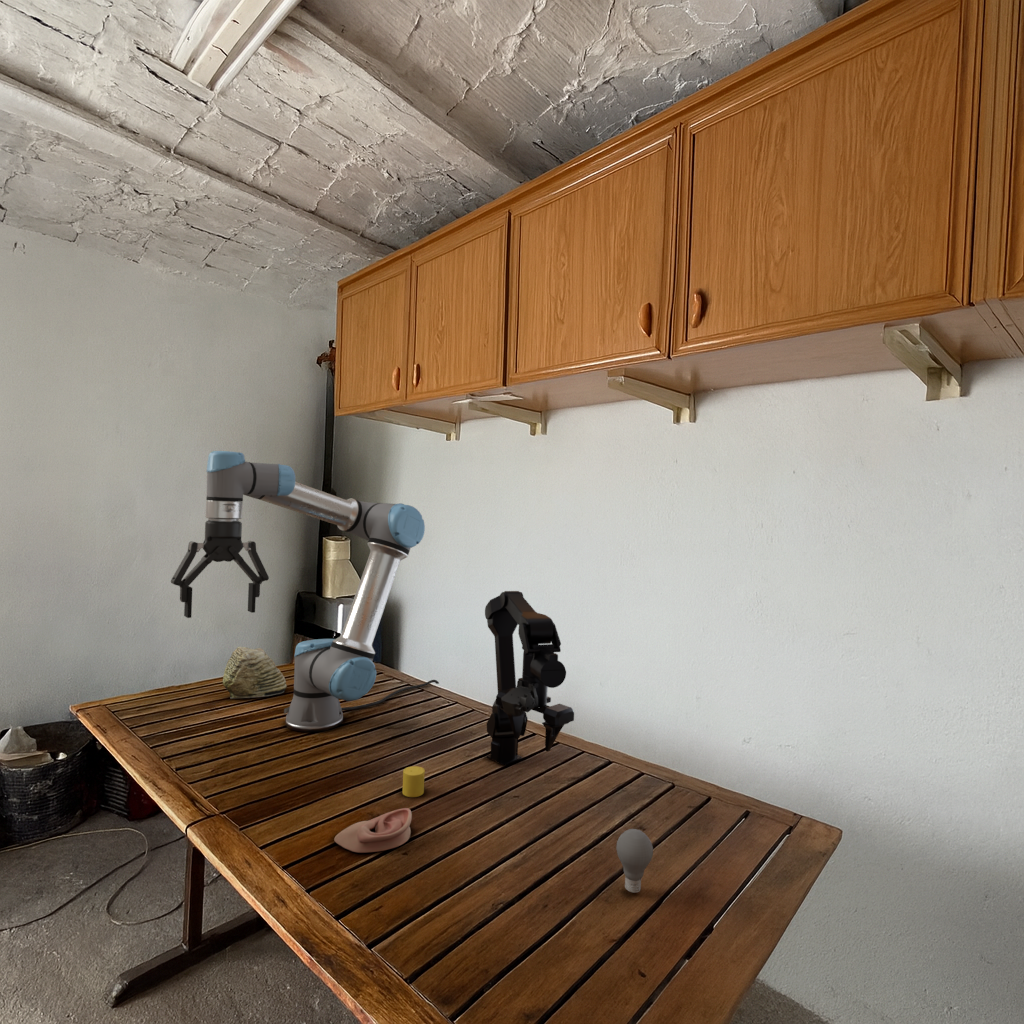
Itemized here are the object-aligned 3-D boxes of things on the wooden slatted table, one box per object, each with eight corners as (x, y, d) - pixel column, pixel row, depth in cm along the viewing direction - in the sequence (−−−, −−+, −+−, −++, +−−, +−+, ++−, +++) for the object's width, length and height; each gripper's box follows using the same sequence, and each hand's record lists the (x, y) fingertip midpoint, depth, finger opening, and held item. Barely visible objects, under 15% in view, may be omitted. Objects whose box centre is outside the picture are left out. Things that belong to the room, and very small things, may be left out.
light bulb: (610, 879, 108) (613, 822, 108) (644, 879, 109) (647, 822, 109) (619, 902, 102) (622, 840, 102) (655, 901, 103) (658, 840, 103)
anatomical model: (326, 826, 114) (355, 797, 125) (325, 847, 114) (354, 817, 126) (396, 837, 112) (418, 806, 123) (395, 859, 112) (417, 827, 123)
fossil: (218, 695, 195) (220, 647, 195) (278, 685, 208) (279, 640, 207) (228, 703, 189) (230, 653, 188) (289, 692, 201) (290, 645, 201)
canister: (399, 790, 138) (399, 768, 138) (418, 785, 141) (419, 764, 141) (407, 799, 134) (408, 776, 134) (427, 794, 137) (428, 772, 137)
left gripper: (166, 520, 131) (163, 622, 132) (285, 521, 148) (281, 612, 148) (157, 518, 137) (154, 616, 137) (273, 519, 153) (269, 607, 154)
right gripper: (479, 671, 140) (476, 740, 141) (542, 691, 127) (539, 768, 128) (514, 663, 148) (511, 729, 149) (577, 681, 135) (573, 754, 136)
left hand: (220, 614), depth 143 cm, fingers open, 13 cm apart
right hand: (532, 744), depth 140 cm, fingers open, 9 cm apart
